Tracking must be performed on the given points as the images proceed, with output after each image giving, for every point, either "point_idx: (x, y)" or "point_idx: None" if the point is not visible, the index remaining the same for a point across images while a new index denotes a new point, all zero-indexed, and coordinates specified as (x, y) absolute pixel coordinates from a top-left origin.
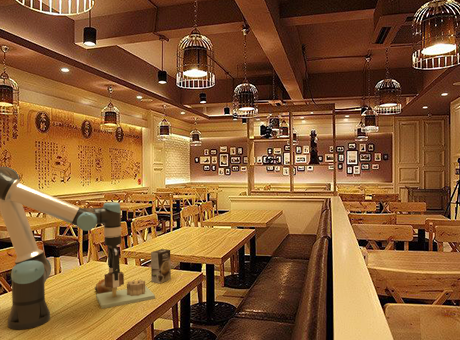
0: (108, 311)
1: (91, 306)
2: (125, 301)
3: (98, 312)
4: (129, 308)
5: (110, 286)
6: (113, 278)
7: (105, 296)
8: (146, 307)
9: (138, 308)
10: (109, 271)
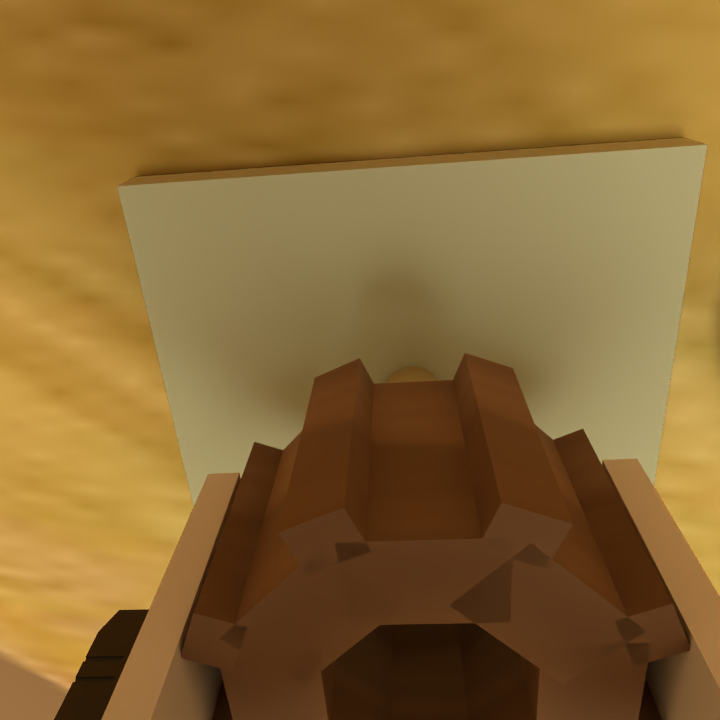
0: (13, 251)
1: (292, 29)
2: (189, 479)
3: (6, 118)
4: (53, 473)
5: (294, 443)
6: (149, 627)
7: (495, 280)
8: (38, 603)
9: (29, 543)
10: (701, 664)
